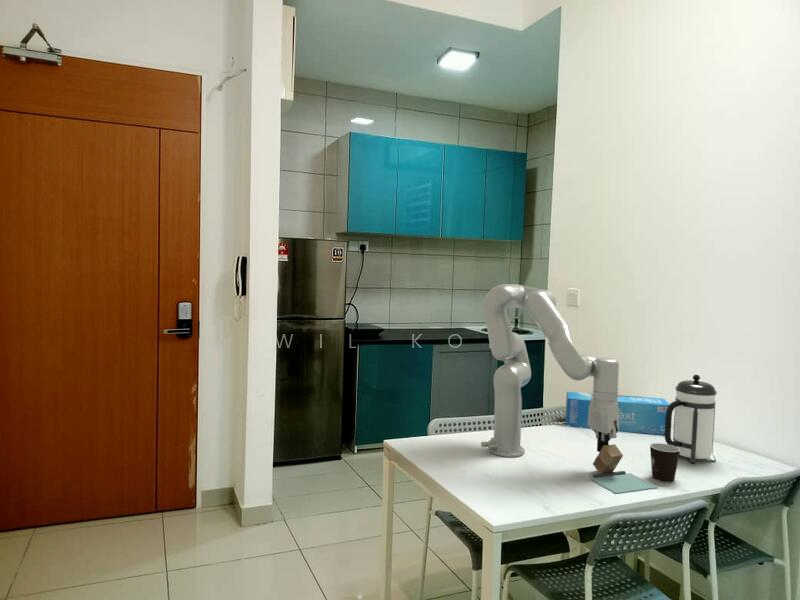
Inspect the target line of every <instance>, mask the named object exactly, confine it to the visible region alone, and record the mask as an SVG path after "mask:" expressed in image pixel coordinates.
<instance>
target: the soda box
mask: <svg viewBox="0 0 800 600" xmlns="http://www.w3.org/2000/svg"><path fill="white" fill-rule="evenodd" d="M591 398H593V392H578V391H577V392H576V391H567V392H566V398H565V399H566V401H565V403H566V404H565V422H566V423H565V424H566V426H567V425H569V426H572V427H571V428H579V427H582V428H583V429H589V430H590V429H591V428H590V427H589V426H588V412H589V405H590V401H591ZM617 403H618V408H619V430H618V432H626V433H635V434H649V435H660V436H665V419H666V411H667V408H668V406H669V405H670V404H671V403H670V402H668V401H667V400H666V399H665V398H664V397H663V398H662V397H660V398H659V397H649V396H648V397H647V396H635V395H625V394H623V395H622V394H618V395H617ZM569 426H568V427H569ZM582 428H581V429H582ZM591 430H592V429H591Z"/></svg>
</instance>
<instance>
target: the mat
mask: <svg viewBox="0 0 800 600" xmlns="http://www.w3.org/2000/svg"><path fill="white" fill-rule="evenodd" d="M589 480H590V481H592V482H594V483H595V484H597V485H599V486H601V487H603V488H604V489H606V490H608V491H609V492H611V493H613V494H615V495H617V494H619V495H620V494H626V493H632V492H633V493H634V492H639V491H640V492H641V491H648V490H654V489H655V490H656V489H659V486H658V485H657V486H656V485H655V484H653V483H651V482H649V481H648V480H647V481H646V480H645V479H643V478H641V477H639V476H638V475H635V474H632V473H631V472H630V473H626V474H622V475H614V476H606V477H598V478H593V477H591V478H589Z"/></svg>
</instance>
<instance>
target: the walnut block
mask: <svg viewBox="0 0 800 600" xmlns="http://www.w3.org/2000/svg"><path fill="white" fill-rule="evenodd" d="M623 456H624V454H623V453H622V451H621V450H620V449H619V447H618V446H617V445H616V444H609V445H604V446H603V447H602V449H601V451H600V452H599V453H598V454H597V456H596V458H595V460H594V461H593V463H592V465H593V466H594V468H595V469H596V471H597V472H598V474H602V473H610V472H615V470H616V469H617V468H616V467H617V466H618V464H620V461H621V460H622V458H623Z"/></svg>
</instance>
